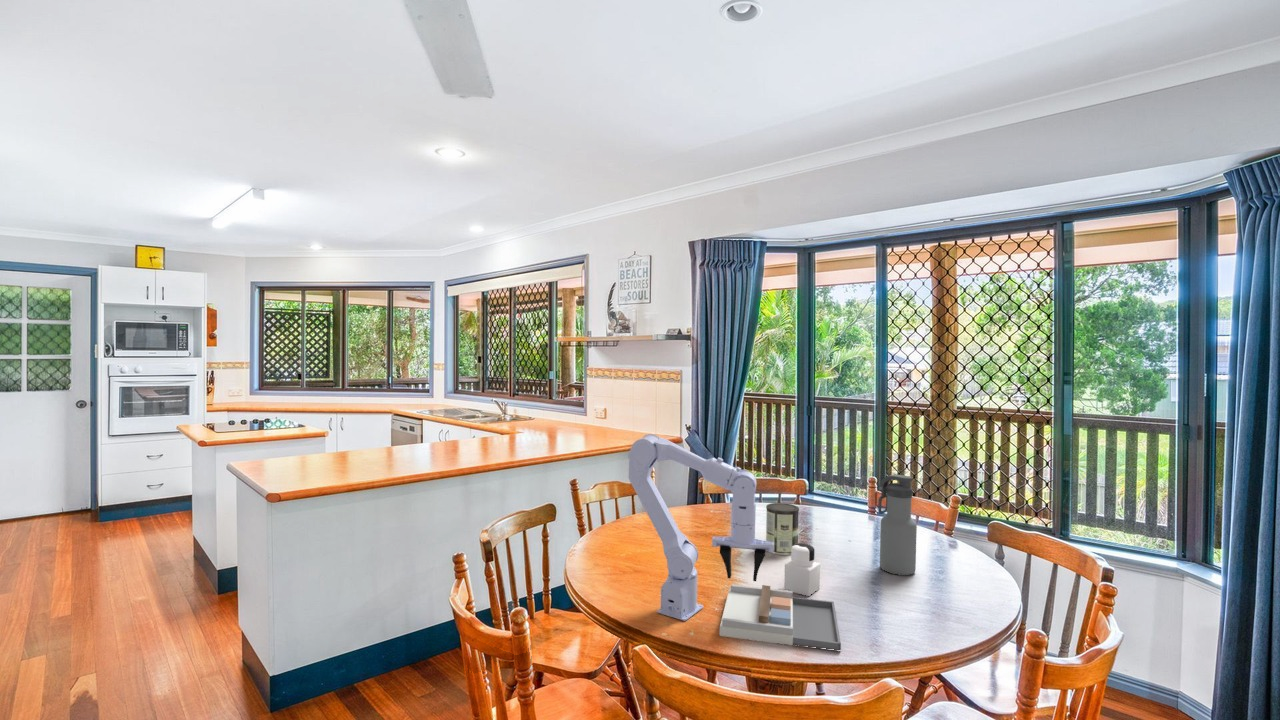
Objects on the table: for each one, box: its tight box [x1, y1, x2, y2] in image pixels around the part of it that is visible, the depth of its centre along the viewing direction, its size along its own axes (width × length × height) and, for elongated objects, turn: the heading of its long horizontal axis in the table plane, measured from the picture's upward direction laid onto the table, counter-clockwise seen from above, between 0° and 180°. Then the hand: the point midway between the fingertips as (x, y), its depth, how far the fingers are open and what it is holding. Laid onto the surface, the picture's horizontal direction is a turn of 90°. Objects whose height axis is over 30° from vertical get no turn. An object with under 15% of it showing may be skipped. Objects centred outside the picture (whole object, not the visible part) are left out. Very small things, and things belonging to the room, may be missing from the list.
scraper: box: [759, 584, 771, 623], centre depth 143 cm, size 2×18×2 cm, turn 166°
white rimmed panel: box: [719, 583, 794, 646], centre depth 144 cm, size 16×22×4 cm
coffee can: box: [765, 502, 800, 556], centre depth 193 cm, size 10×10×14 cm
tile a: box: [771, 596, 791, 611], centre depth 146 cm, size 4×4×2 cm
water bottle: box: [877, 473, 918, 576], centre depth 177 cm, size 10×10×28 cm
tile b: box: [770, 608, 791, 626], centre depth 139 cm, size 4×4×2 cm
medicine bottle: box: [783, 542, 821, 597], centre depth 162 cm, size 7×7×12 cm
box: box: [793, 596, 842, 650], centre depth 140 cm, size 10×22×2 cm, turn 166°
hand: (742, 578), depth 144 cm, fingers open, 5 cm apart
